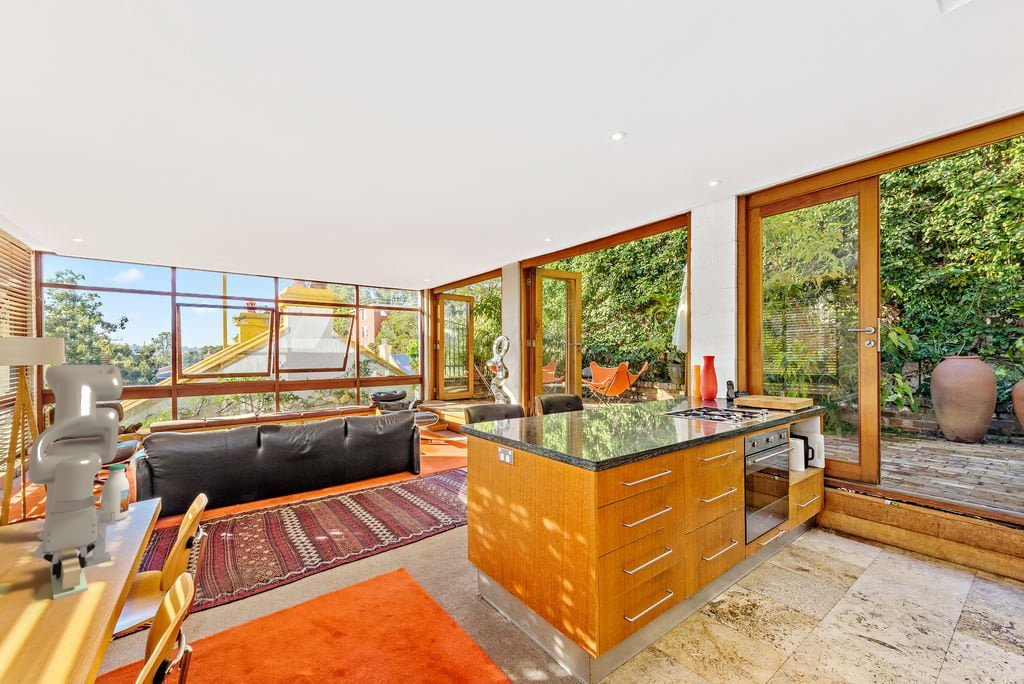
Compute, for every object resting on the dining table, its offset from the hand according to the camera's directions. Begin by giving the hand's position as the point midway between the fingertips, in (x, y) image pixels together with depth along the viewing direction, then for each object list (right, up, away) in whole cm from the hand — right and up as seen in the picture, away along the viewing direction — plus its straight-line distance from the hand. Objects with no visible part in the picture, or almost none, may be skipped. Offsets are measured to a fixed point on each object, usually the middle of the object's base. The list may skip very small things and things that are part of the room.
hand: (68, 573), depth 115 cm
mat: (0, -1, 0) cm, 1 cm away
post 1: (-14, -3, +21) cm, 26 cm away
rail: (0, 0, 0) cm, 0 cm away
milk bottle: (-29, -4, +44) cm, 53 cm away
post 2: (-2, -2, +11) cm, 11 cm away
